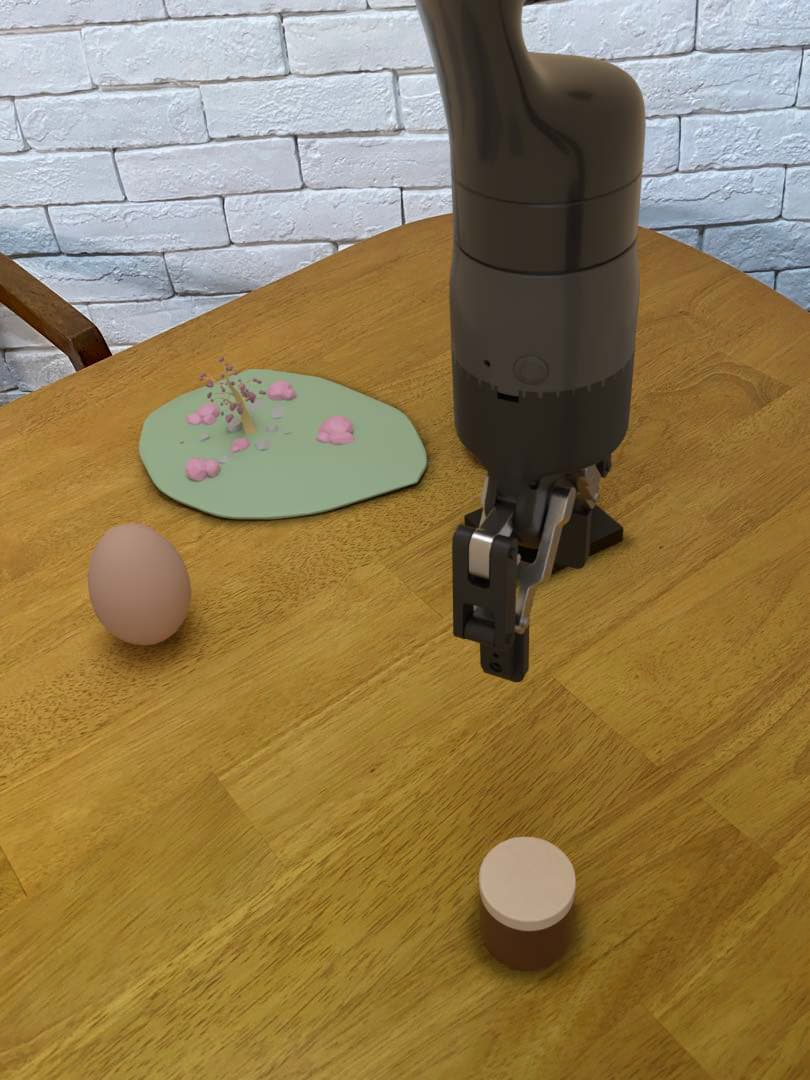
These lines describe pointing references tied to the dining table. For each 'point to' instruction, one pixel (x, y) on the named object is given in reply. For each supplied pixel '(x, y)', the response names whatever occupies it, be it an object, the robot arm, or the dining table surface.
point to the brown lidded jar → (526, 902)
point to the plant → (278, 446)
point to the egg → (138, 584)
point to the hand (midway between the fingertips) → (536, 614)
